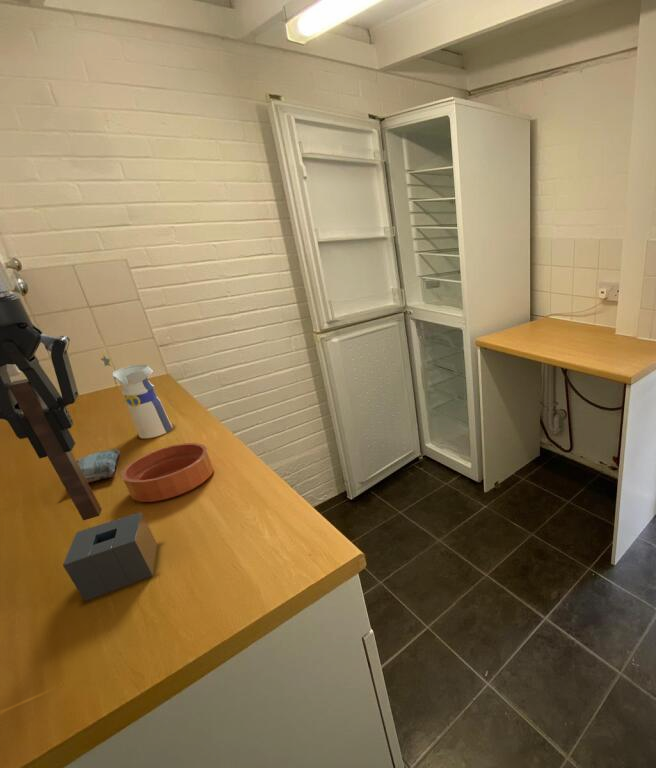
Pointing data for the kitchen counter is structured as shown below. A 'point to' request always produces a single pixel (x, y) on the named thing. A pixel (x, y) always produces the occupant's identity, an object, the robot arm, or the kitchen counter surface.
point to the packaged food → (99, 465)
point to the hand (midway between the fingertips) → (57, 450)
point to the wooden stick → (55, 449)
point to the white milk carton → (142, 400)
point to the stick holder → (111, 556)
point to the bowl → (167, 472)
